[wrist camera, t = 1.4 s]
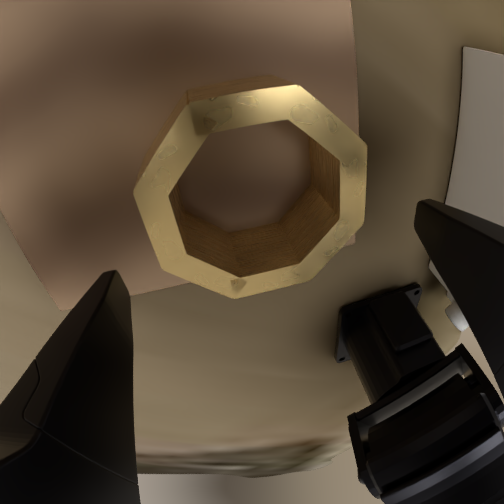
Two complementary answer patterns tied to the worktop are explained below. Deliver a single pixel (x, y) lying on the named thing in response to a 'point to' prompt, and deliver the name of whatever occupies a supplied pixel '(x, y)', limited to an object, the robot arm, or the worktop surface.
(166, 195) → the brass ring
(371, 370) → the robot arm
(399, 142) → the worktop surface
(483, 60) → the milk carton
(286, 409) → the worktop surface
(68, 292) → the copper plate
